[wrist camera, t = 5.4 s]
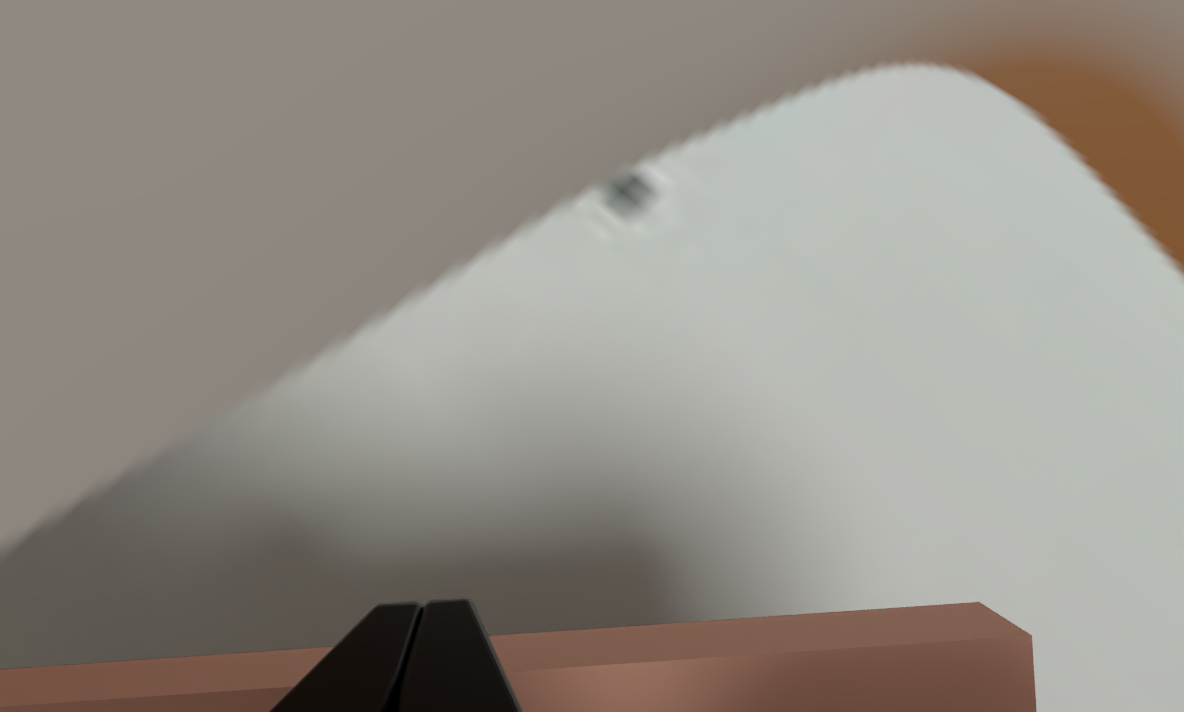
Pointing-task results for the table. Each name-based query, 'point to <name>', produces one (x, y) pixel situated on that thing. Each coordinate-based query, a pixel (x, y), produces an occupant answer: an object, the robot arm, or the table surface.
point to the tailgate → (630, 669)
